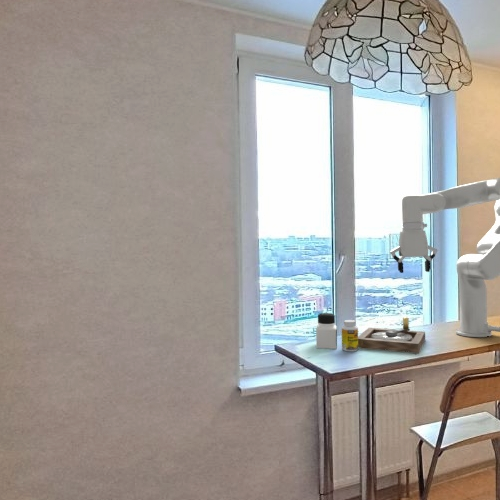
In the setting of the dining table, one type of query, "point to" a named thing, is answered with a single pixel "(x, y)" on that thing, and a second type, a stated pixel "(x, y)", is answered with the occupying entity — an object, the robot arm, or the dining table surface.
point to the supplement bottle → (349, 336)
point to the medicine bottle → (326, 331)
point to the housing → (391, 341)
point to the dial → (395, 333)
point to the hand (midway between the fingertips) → (414, 272)
